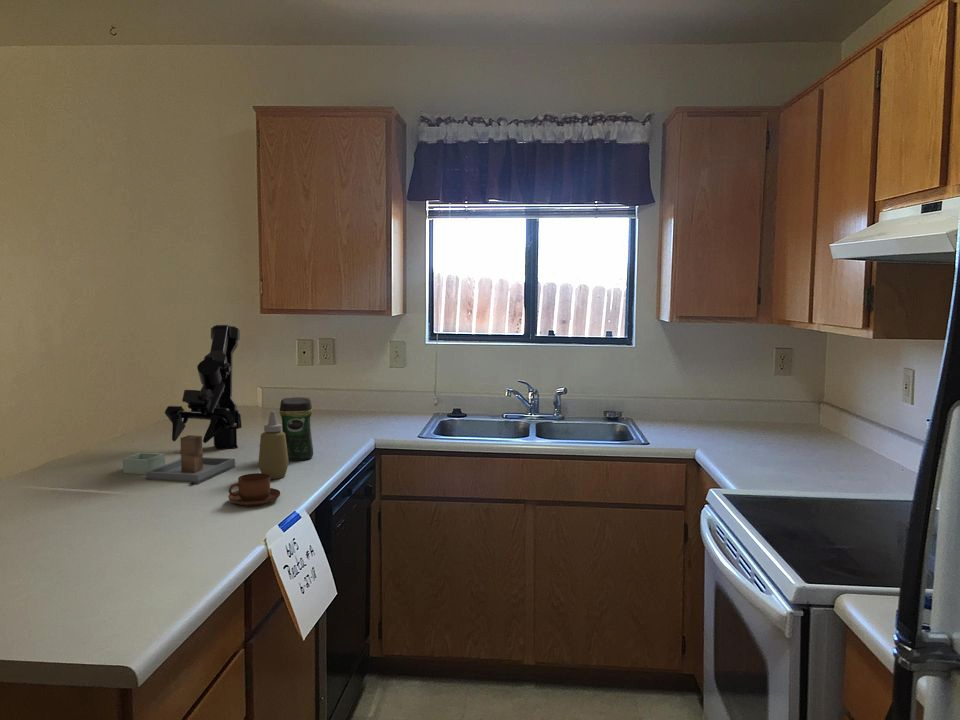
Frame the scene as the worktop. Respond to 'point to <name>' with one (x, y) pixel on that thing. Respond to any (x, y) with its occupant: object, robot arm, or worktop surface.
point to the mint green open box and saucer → (253, 490)
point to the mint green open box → (143, 462)
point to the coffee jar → (297, 427)
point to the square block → (191, 454)
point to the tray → (174, 473)
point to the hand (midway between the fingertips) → (188, 441)
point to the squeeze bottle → (273, 449)
